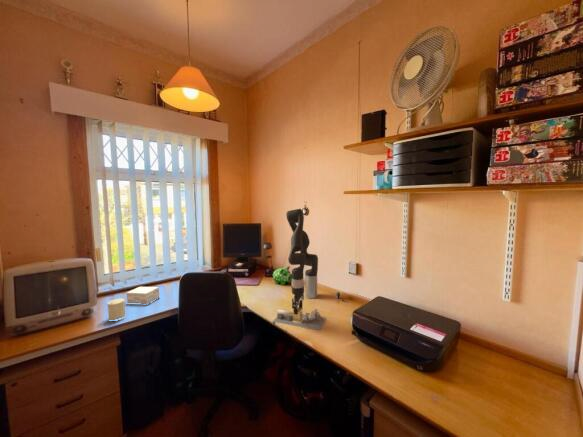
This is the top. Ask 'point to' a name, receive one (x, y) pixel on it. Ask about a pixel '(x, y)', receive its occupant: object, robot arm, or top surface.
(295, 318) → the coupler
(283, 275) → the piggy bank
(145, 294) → the supplement box
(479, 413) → the top surface
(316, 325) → the shaft base
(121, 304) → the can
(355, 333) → the hand tool
